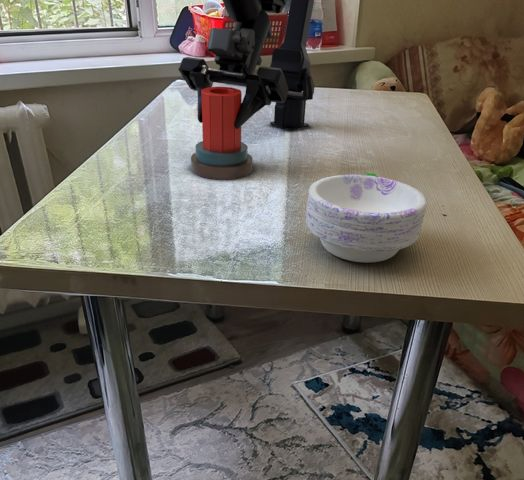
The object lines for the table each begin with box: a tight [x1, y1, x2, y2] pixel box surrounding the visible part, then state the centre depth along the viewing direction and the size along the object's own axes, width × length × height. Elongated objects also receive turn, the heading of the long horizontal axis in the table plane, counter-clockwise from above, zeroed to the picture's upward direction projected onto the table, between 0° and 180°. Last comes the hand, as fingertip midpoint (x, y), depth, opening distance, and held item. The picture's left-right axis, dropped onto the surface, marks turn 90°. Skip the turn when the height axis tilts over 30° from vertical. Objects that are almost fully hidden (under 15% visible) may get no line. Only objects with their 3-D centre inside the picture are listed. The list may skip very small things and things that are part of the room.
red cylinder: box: [201, 86, 243, 152], centre depth 93 cm, size 7×7×9 cm
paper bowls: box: [305, 174, 428, 264], centre depth 73 cm, size 15×15×8 cm
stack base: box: [190, 140, 254, 181], centre depth 97 cm, size 11×11×4 cm
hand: (217, 124), depth 93 cm, fingers closed on red cylinder, 7 cm apart
